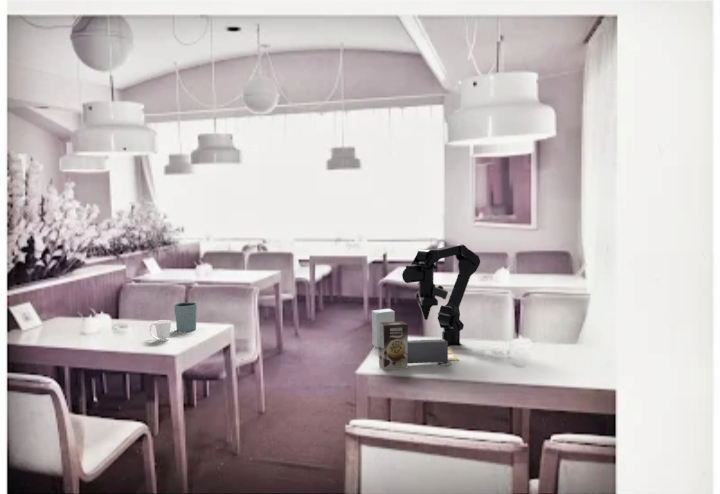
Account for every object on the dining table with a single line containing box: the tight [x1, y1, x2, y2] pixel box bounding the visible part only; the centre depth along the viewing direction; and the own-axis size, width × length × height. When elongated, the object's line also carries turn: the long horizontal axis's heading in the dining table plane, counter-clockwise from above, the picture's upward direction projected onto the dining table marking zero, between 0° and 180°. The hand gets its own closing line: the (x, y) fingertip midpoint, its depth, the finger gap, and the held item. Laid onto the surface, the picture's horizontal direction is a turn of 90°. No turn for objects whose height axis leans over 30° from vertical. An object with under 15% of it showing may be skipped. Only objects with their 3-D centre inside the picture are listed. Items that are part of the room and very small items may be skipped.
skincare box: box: [371, 308, 396, 349], centre depth 258 cm, size 8×6×15 cm
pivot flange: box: [437, 361, 452, 367], centre depth 231 cm, size 5×5×1 cm
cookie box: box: [378, 320, 409, 371], centre depth 228 cm, size 9×6×16 cm
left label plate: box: [448, 353, 460, 362], centre depth 240 cm, size 6×8×1 cm
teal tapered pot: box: [173, 302, 198, 333], centre depth 291 cm, size 10×10×12 cm
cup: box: [148, 319, 172, 342], centre depth 272 cm, size 7×10×8 cm
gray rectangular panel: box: [407, 338, 449, 364], centre depth 230 cm, size 16×2×8 cm, turn 96°
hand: (426, 319), depth 252 cm, fingers closed
